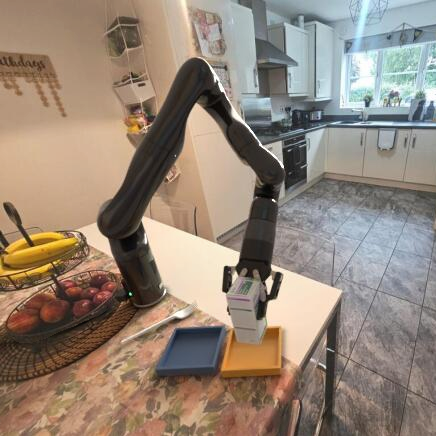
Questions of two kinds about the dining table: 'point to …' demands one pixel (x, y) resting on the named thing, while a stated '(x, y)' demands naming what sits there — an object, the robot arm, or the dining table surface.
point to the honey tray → (253, 355)
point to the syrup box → (246, 310)
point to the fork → (180, 315)
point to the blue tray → (192, 351)
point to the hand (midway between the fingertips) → (245, 317)
